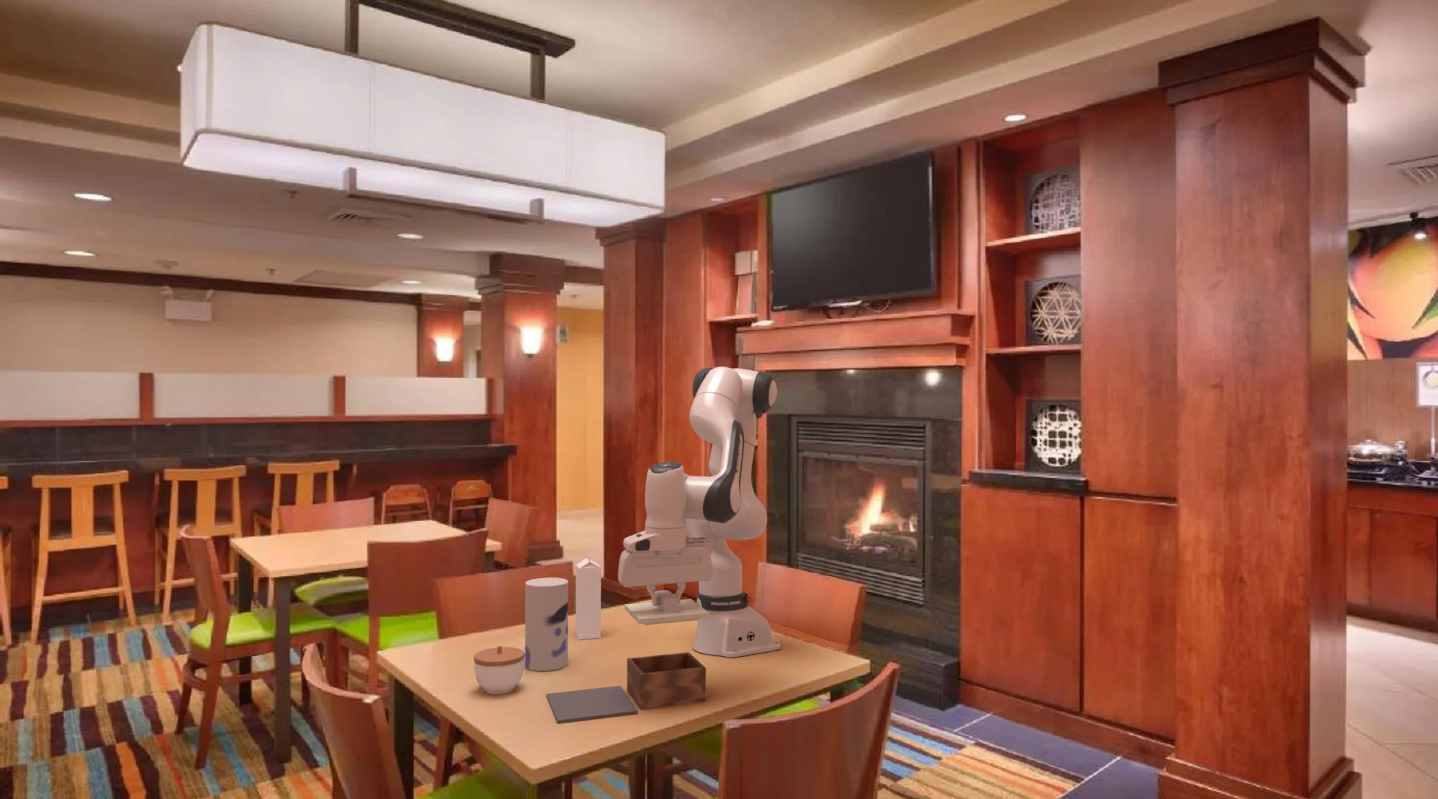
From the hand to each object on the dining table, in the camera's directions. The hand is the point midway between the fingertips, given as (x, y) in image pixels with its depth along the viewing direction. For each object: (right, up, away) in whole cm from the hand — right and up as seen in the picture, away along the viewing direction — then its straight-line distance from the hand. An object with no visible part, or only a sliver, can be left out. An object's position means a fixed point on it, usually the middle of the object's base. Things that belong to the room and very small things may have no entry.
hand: (666, 604), depth 177 cm
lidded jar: (-37, -20, +4) cm, 42 cm away
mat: (-15, -19, -6) cm, 25 cm away
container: (-30, -20, +21) cm, 42 cm away
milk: (-24, -20, +46) cm, 56 cm away
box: (0, -19, 0) cm, 19 cm away
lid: (0, -3, 0) cm, 3 cm away
